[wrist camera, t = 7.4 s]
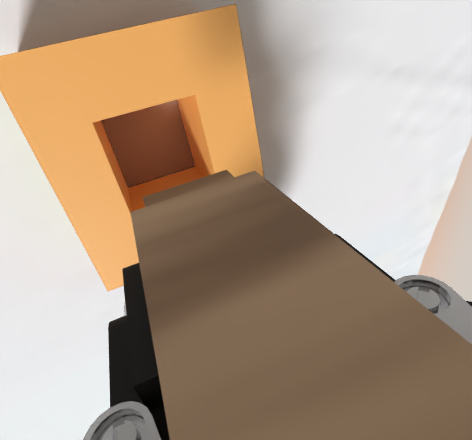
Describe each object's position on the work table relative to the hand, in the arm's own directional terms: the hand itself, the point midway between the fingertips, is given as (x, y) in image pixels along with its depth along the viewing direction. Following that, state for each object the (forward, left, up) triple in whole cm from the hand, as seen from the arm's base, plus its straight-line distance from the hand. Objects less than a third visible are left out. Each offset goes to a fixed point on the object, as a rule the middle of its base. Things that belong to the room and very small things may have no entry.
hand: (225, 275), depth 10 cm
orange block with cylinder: (+5, 0, -18) cm, 19 cm away
